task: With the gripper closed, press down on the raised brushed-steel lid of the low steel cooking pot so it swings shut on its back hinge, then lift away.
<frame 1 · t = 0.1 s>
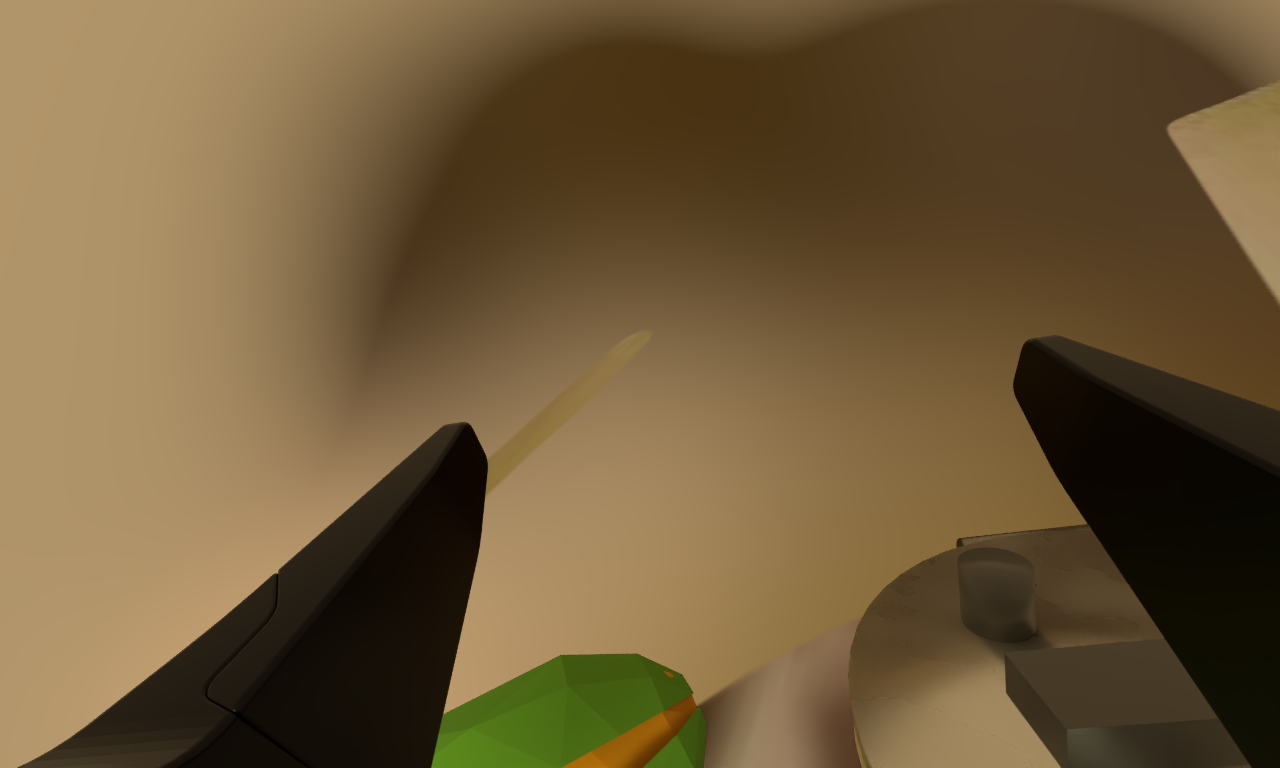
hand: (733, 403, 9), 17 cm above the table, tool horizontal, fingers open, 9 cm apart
lid: (1247, 691, 11), point 9 cm above the table, hinge at 25.0°
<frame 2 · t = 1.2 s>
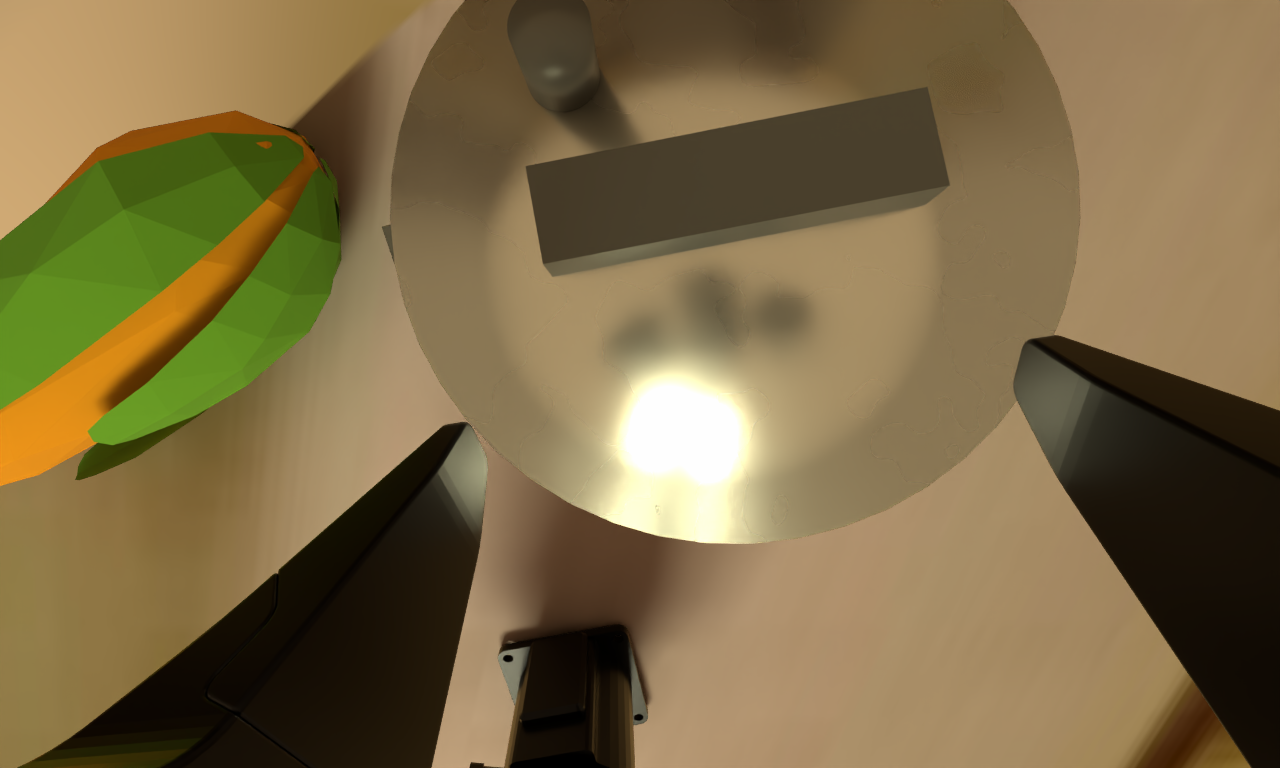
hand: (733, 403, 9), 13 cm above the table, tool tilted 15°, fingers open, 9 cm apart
corn: (178, 319, 22), on the table
lid: (728, 178, 12), point 9 cm above the table, hinge at 25.0°
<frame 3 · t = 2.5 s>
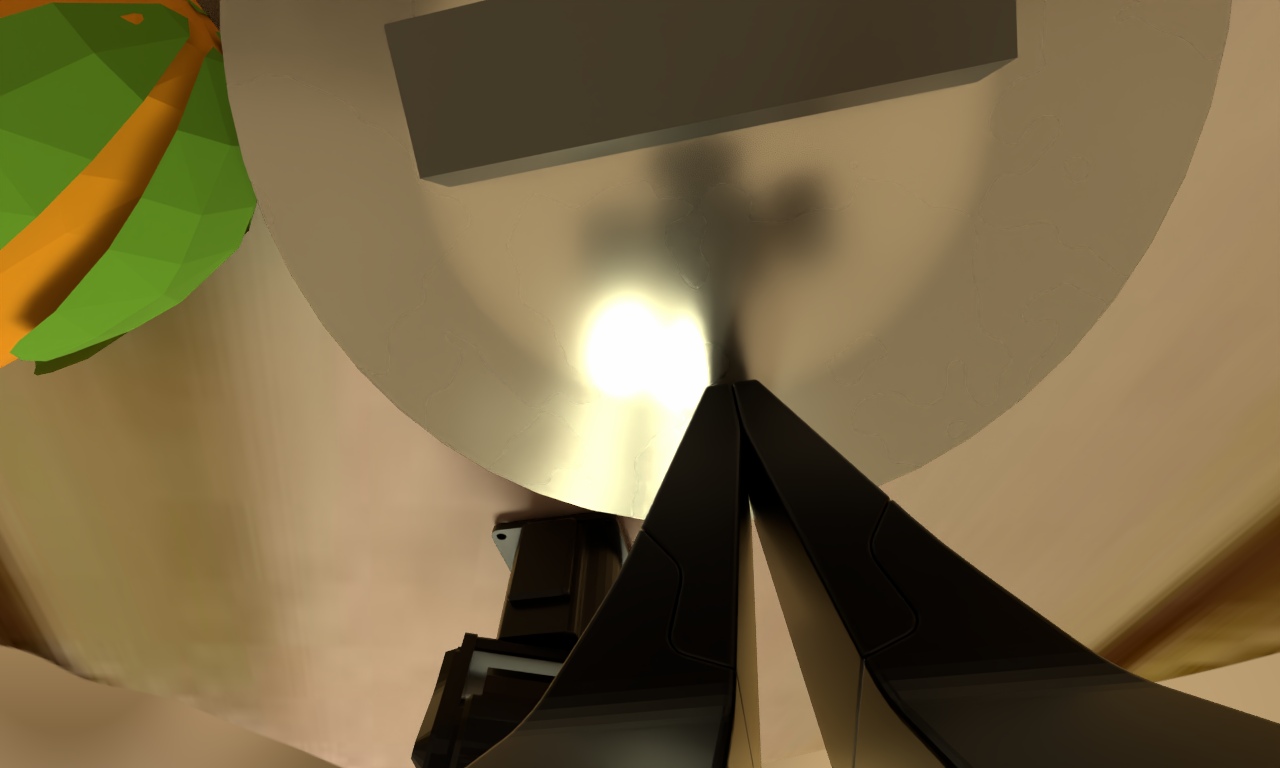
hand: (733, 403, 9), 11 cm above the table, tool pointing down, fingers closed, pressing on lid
corn: (105, 208, 19), on the table
lid: (686, 39, 8), point 9 cm above the table, hinge at 24.5°, touching gripper
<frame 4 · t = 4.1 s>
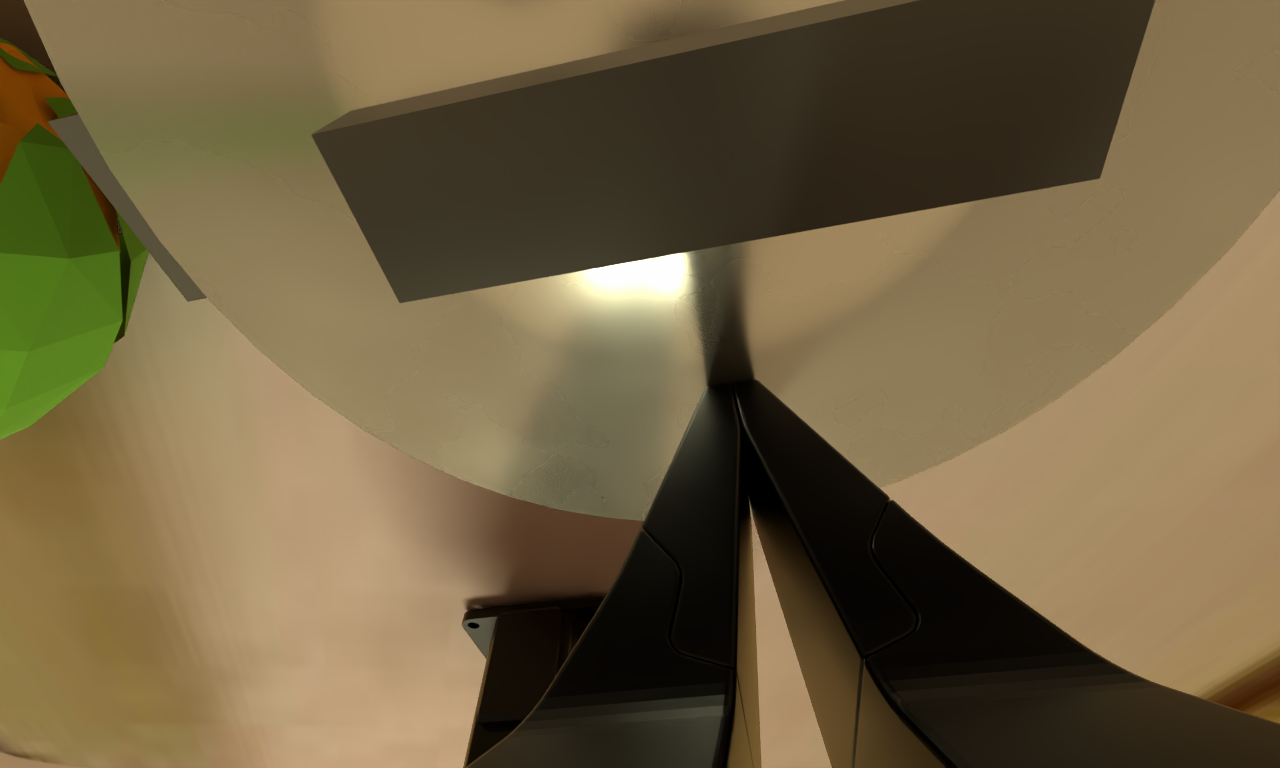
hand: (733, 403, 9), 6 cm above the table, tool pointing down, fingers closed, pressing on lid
pot: (678, 53, 11), on the table
lid: (705, 115, 6), point 6 cm above the table, hinge at -0.5°, touching gripper
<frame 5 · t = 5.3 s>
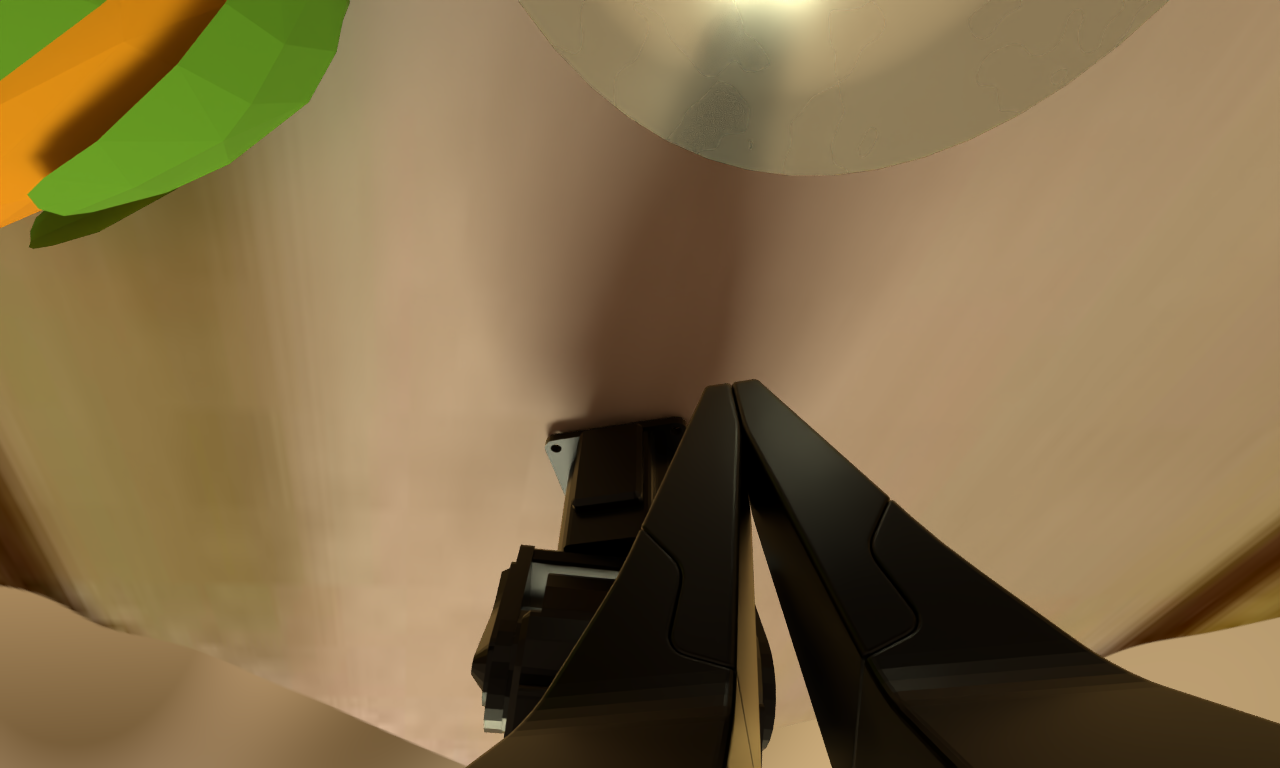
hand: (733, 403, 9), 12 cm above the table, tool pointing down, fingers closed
corn: (133, 57, 17), on the table
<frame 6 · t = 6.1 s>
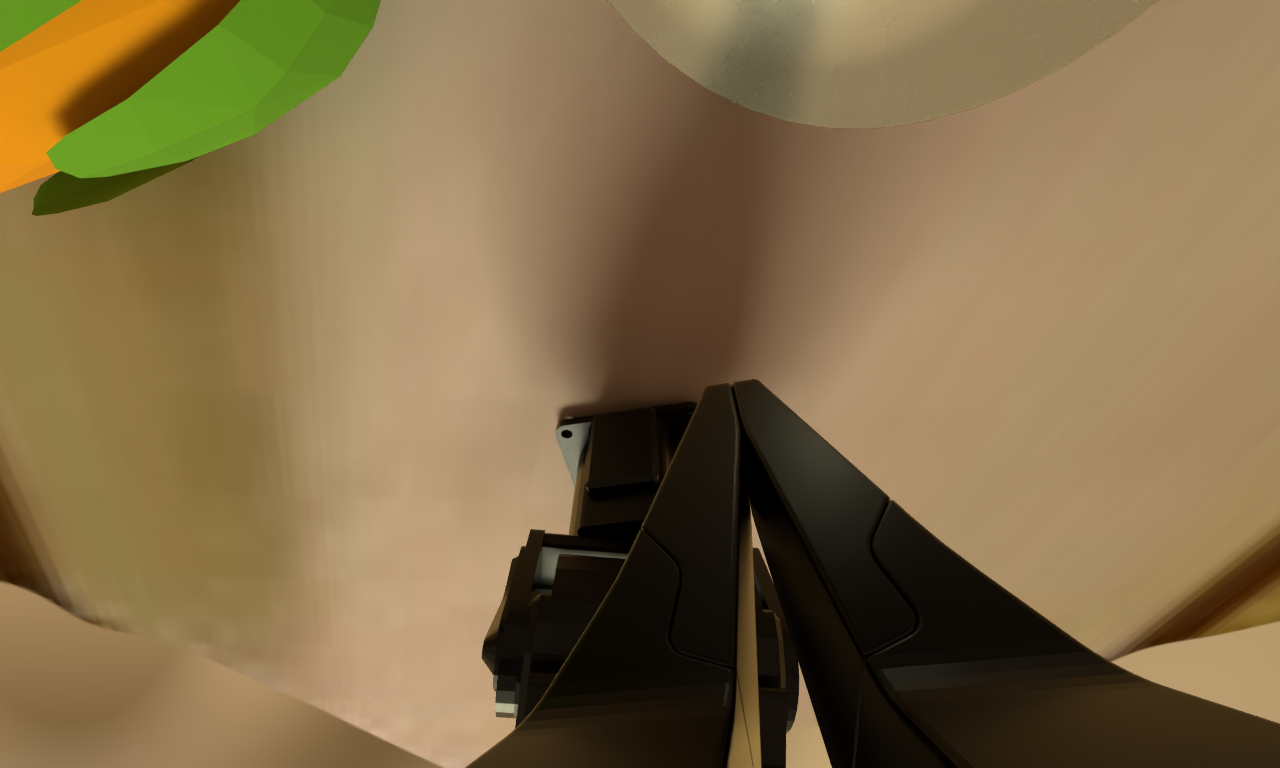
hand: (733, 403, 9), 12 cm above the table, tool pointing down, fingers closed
corn: (155, 27, 17), on the table
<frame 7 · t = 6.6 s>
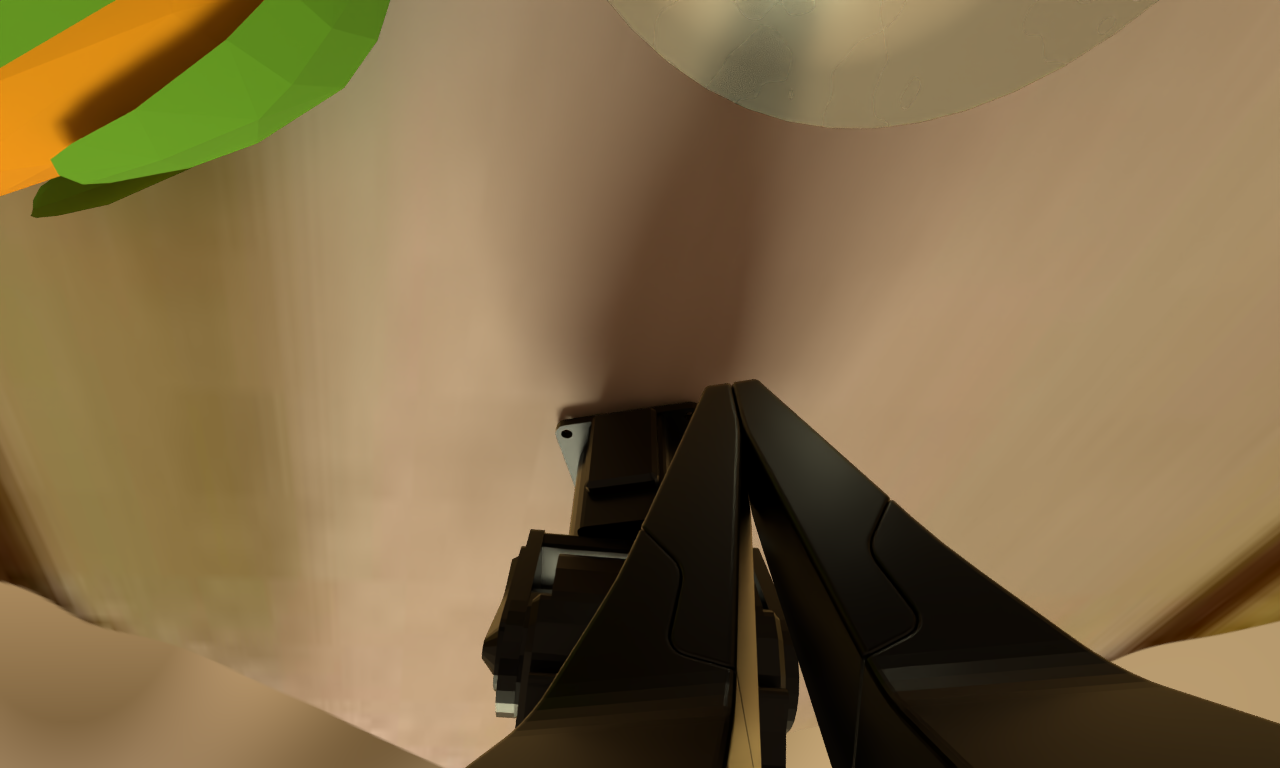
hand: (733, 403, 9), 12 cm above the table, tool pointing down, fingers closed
corn: (158, 32, 17), on the table
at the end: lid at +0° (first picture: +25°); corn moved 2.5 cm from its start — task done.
